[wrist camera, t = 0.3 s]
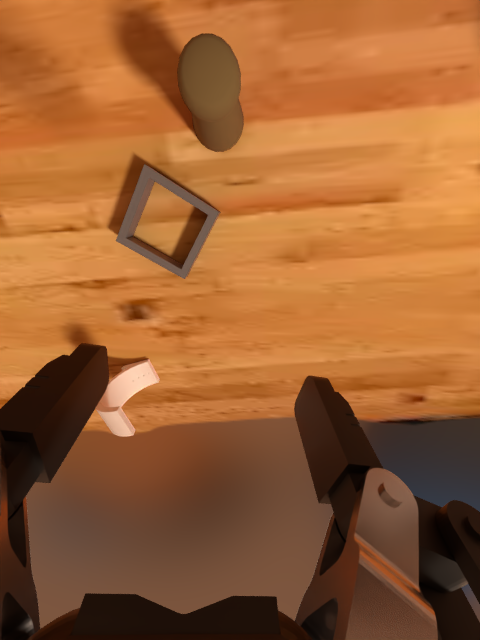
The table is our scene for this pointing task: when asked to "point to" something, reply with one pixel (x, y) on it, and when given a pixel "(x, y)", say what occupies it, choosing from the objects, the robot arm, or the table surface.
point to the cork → (212, 90)
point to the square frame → (135, 213)
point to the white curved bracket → (124, 395)
